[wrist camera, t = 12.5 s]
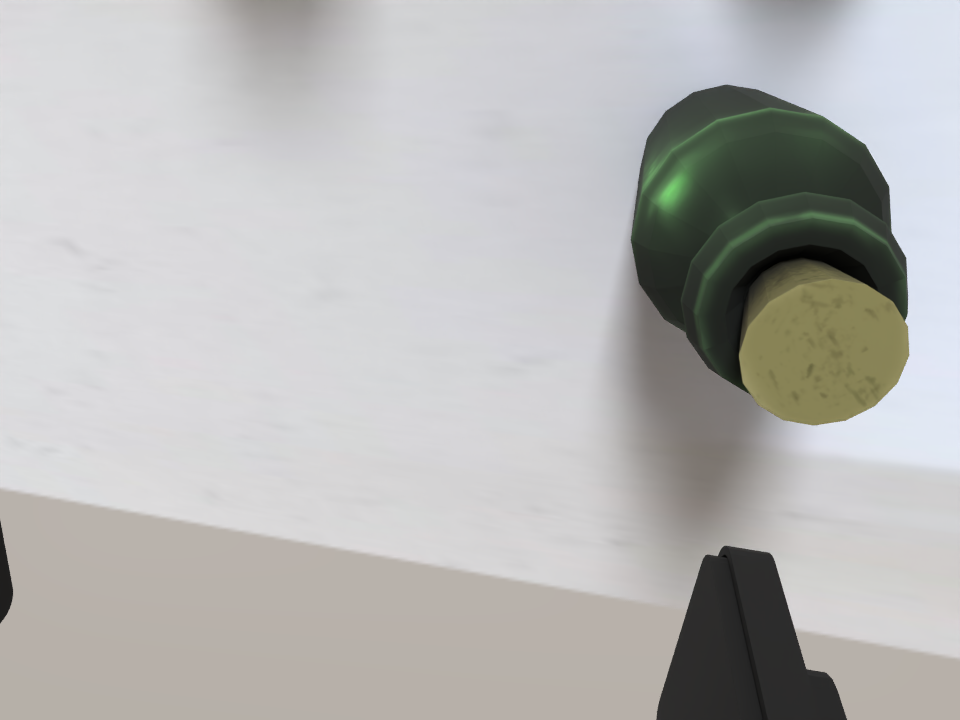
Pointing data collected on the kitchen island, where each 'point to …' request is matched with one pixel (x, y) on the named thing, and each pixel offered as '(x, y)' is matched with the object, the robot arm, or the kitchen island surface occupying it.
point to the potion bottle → (773, 252)
